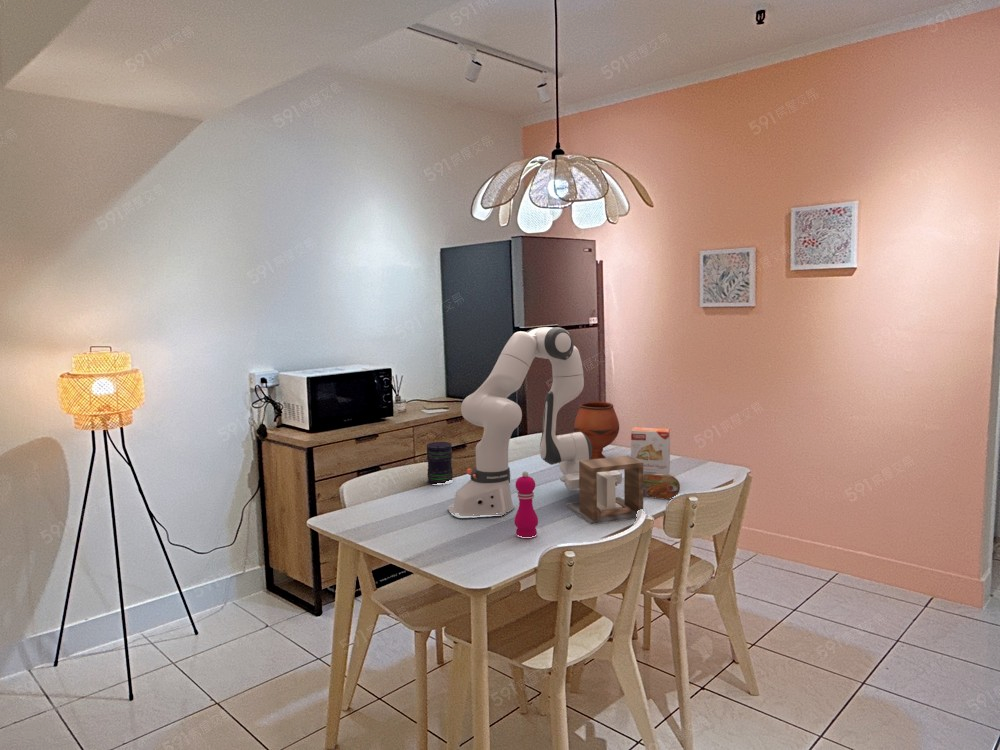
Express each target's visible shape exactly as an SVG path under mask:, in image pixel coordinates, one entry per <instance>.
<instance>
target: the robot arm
mask: <svg viewBox="0 0 1000 750" xmlns="http://www.w3.org/2000/svg"><path fill="white" fill-rule="evenodd" d="M538 358H539V359H545V360H547V359H548V360H549V361H550V364H551V371H552V373H551V374H552V383H551V388H550V390H549V391H548V392H546V394H545V397H544V405H543V415H542V428H541V429H542V431H541V437H540V442H539V454H540V457H541V459H542V460H543V461H544V462H545V463H547V464H549V465H550V466H551V465H558V466H559V470H560V471H561V473H562V475H563V476H562V477H560V479H559V481H560V482H562V483H563V484H564V486H565V487H566V488H567V489H569V490H579V461H582V460H590V459H591V456H592V445H591V442H590V440H589V438H588V437H587V436H586V435H585V434H584V433H582V432H575V433H574V432H571V433H565V434H559V435H558V434H557V435H556V431H557V415H558V412H559V411H560V410H561V408H562V407H564V406H565V405H567V404H568V403H570V402H572V401H574V400H575V399H576V398H577V397H579V396H580V395H581V394H582V391H583V389H584V387H585V385H584V384H585V380H584V368H583V362H582V358H581V354H580V351H579V349H578V348H577V347H576V346H575V345H574V341H573V337H572V335H571V334H570V332H569V331H568V330H566V329H565V328H562V327H558V326H557V327H556V326H555V327H549V326H544V327H543V326H542V327H537V328H536V327H535V328H531V329H529V330H527V331H521V330H520V331H516V332H514V333H513V334H512V336H510V338H509V339H508V340H507V342H506V344H505V345H504V347H503V349H502V350H501V353H500V354H499V356H498V358H497V361H496V363H495V365H494V366H493V368H492V370H491V372H490V374H489V375H488V377H487V378H486V379H485V380H484V381H483V383H482V384H481V385H480V386H479V387H477V389H476V390H475V391H474V392H472V393H471V394H469V395H468V396H466V397H465V398H464V399H463V400H462V403H461V406H460V412H461V416H462V417H463V419H464V420H466V421H467V422H469V423H470V424H472V425H475V426H477V427H483V434H482V438H481V440H480V441H478V442H477V444H476V445H475V448H474V449H475V468H474V469H472V468H470V467H469V468H467V470H466V474H467V475H468V476H470V480H468V482H466V483H465V484H464V485H463V486H461V487H460V488H459V489H457V491H456V493H455V496H454V502H453V503H451V504H452V505H450V504H449V505H448V507H447V509H448V508H449V511H451V513H453V514H454V515H455V513H459V515H460V516H480V515H503V514H505V513H506V512H508V511H510V510H512V509H513V508H514V509H515V504H514V502H513V497H512V494H511V486H510V485H511V469H510V467H509V445H510V440H511V437H512V434H513V432H514V430H516V429H517V428H518V427H519V425H520V424H521V422H522V419H523V418H522V417H523V412H522V408H521V407H520V405H519V403H517V402H515V401H513V400H511V399H509V397H510V396H511V394H513V393H515V392H517V391H518V390H519V389H520V388H521V387H522V384H523V382H524V380H525V378H526V375H527V374H528V372H529V370H530V367H531V365H532V363H533V361H534V360H535V359H538ZM605 472H606V473H608V474H609V475H611V476H613V477H615V481H616V487H617V486H618V485H619V484H621V483H622V482H623V481H622V480H623V475H622V472H621V471H620V470H614V471H605ZM449 506H454V507H449ZM514 509H513V510H514ZM513 510H512V511H513ZM510 512H511V511H510ZM496 513H498V514H496ZM508 513H509V512H508ZM473 514H474V515H473ZM506 514H507V513H506ZM506 514H505V515H506Z"/></svg>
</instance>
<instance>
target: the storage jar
mask: <svg viewBox="0 0 1000 750" xmlns="http://www.w3.org/2000/svg"><path fill="white" fill-rule="evenodd" d="M452 458H453V450H452V443H451V442H447V441H436V442H435V441H434V442H430V443H427V444H426V459H427V480H428V481H427V484H428V485H430V486H433V485H432V484H437V483H445V482H446V481H449V480H453V477H454V476H453V475H454V472H453V467H452V466H453V465H452V463H453V462H452Z"/></svg>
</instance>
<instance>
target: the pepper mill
mask: <svg viewBox="0 0 1000 750" xmlns="http://www.w3.org/2000/svg"><path fill="white" fill-rule="evenodd" d="M521 475H522V476H519V478H517V479H516V481H515V489H516V490H517V494H516V495H517V496H516V497H517V498H518V501H519V502H518V504H519V505H518V508H517V511H516V513H515V515H514V521H513V522H514V525H515V527H516V530H515V535H516V534H517V535H519V536H522V537H532V536H535V535H536V534H537V535H538V533H537V532H538V531H537V528H536V527H537V526H538V525H539V519H538V514H537V513H536V511H535V509H534V505H533V499H534V496H535V495H534V494H535V492H534V491H535V488H536V482H535V479H534V478H533V477H532V476H530V475H529V473H528V472H527V471H526V470H525V471H523V472H522V474H521Z"/></svg>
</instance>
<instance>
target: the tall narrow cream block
mask: <svg viewBox="0 0 1000 750" xmlns="http://www.w3.org/2000/svg"><path fill="white" fill-rule="evenodd" d="M616 487H617V486H616V481H615V477H613V476H611V475H609V474H608V473H606V472H597V511H603V510H611V509H618V508H622V506H621V505H619V504H618V503H616V492H617V491H616Z"/></svg>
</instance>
